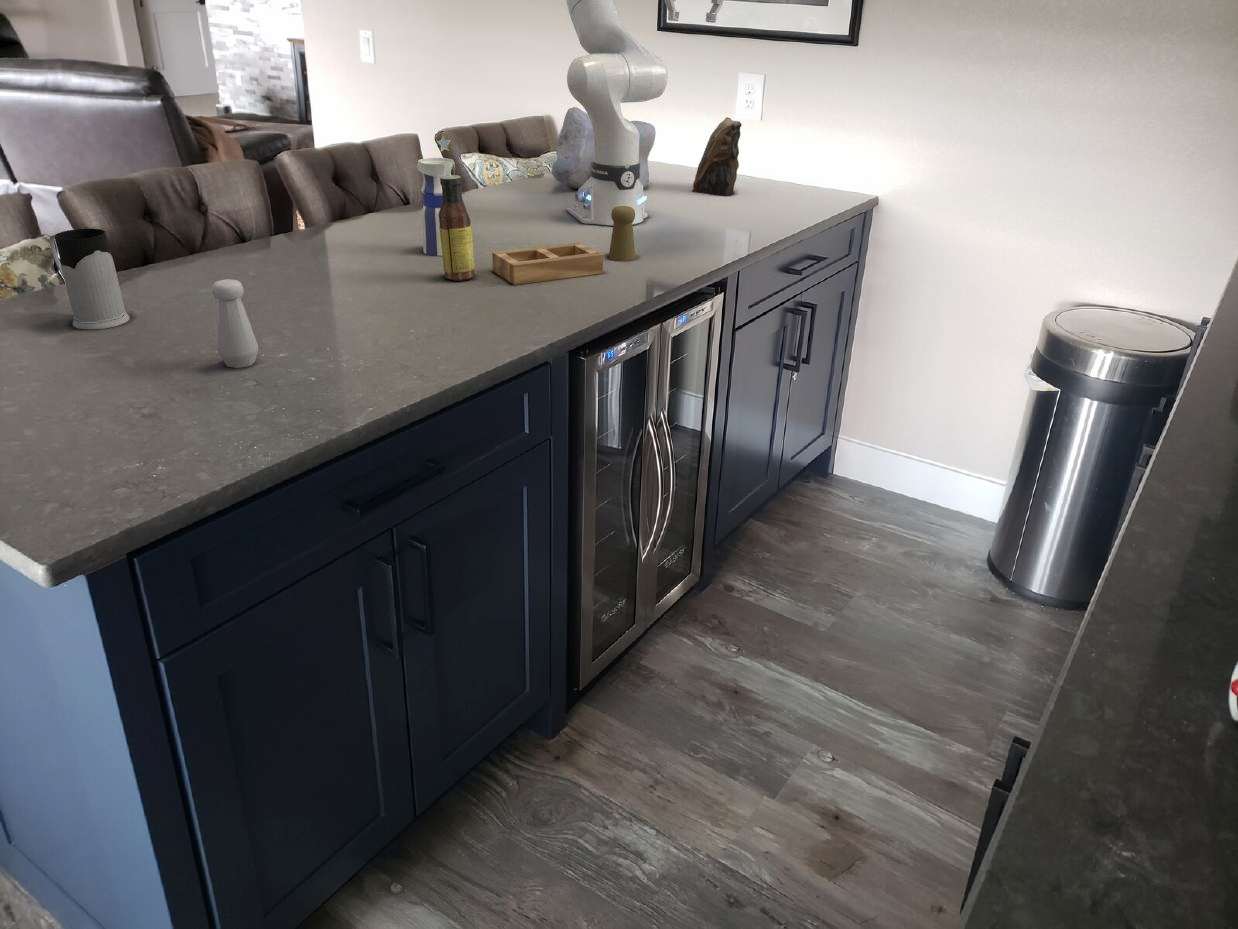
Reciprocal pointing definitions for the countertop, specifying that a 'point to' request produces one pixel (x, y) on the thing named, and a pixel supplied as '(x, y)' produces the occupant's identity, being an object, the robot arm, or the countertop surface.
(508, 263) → the socket block
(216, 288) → the salt shaker
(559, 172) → the rock
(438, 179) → the blue tall piece
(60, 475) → the countertop surface
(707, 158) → the rock
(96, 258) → the glass holder
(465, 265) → the sauce bottle
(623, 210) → the olive green game pawn
